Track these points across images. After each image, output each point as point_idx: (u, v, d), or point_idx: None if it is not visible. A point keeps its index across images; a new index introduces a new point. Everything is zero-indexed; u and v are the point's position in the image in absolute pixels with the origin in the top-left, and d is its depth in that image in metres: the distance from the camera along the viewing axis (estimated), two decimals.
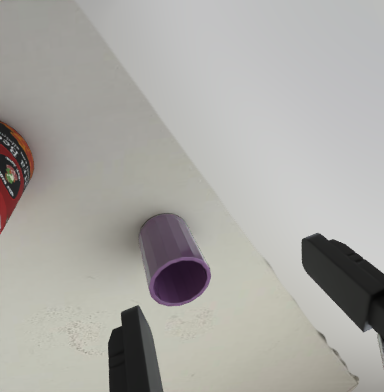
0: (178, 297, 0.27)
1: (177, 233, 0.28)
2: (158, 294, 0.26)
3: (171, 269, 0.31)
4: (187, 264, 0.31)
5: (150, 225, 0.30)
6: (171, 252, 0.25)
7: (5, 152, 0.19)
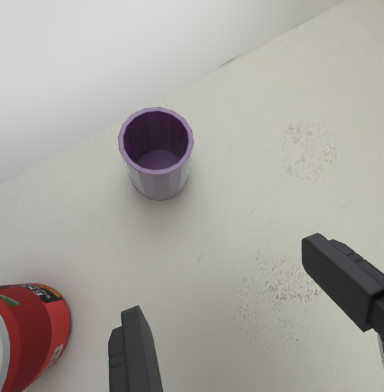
0: None
1: None
2: None
3: None
4: (177, 143, 0.27)
5: (134, 183, 0.28)
6: None
7: None
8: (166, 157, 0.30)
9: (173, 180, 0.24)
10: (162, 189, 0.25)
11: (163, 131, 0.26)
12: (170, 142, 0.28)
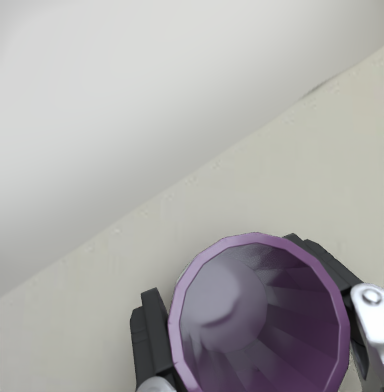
0: (327, 322, 0.10)
1: None
2: (305, 391, 0.09)
3: (282, 303, 0.14)
4: (267, 267, 0.14)
5: None
6: None
7: None
8: (233, 272, 0.16)
9: None
10: None
11: (242, 252, 0.13)
12: (247, 258, 0.15)
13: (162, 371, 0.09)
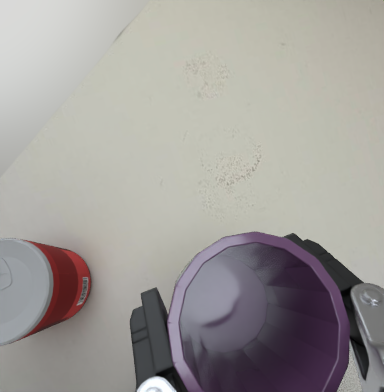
0: (327, 321, 0.10)
1: None
2: (304, 390, 0.09)
3: (282, 303, 0.14)
4: (267, 267, 0.14)
5: None
6: None
7: None
8: (232, 272, 0.16)
9: None
10: None
11: (242, 252, 0.13)
12: (247, 257, 0.15)
13: (162, 371, 0.09)
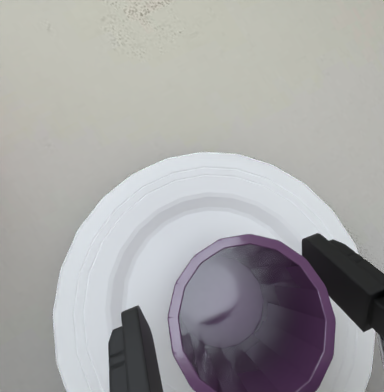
0: (315, 317, 0.10)
1: None
2: (293, 380, 0.10)
3: (276, 300, 0.14)
4: (262, 267, 0.14)
5: None
6: None
7: None
8: (230, 271, 0.17)
9: None
10: None
11: (238, 252, 0.14)
12: (243, 258, 0.15)
13: None
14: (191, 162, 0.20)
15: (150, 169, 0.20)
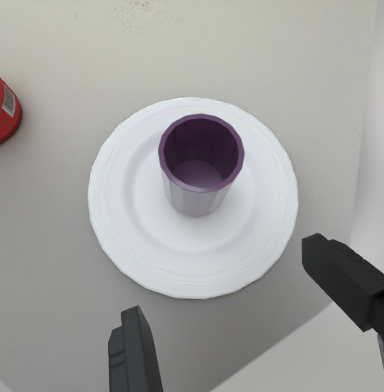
0: (236, 156, 0.20)
1: None
2: None
3: (227, 173, 0.24)
4: (218, 153, 0.24)
5: (169, 199, 0.25)
6: None
7: None
8: (202, 168, 0.26)
9: (219, 196, 0.21)
10: (204, 206, 0.22)
11: (202, 140, 0.23)
12: (208, 152, 0.25)
13: None
14: (178, 103, 0.29)
15: (150, 107, 0.29)
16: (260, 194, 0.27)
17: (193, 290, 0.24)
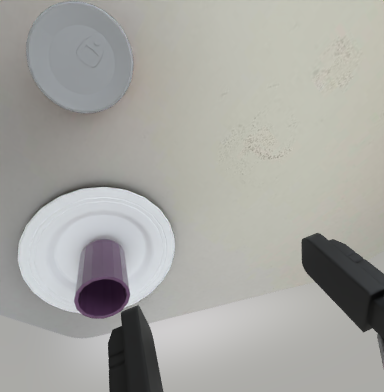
0: (111, 309, 0.33)
1: (97, 257, 0.33)
2: (91, 311, 0.32)
3: (112, 285, 0.36)
4: None
5: (82, 255, 0.35)
6: (86, 276, 0.30)
7: None
8: None
9: None
10: None
11: None
12: None
13: None
14: (161, 220, 0.38)
15: (150, 205, 0.37)
16: None
17: (33, 285, 0.36)
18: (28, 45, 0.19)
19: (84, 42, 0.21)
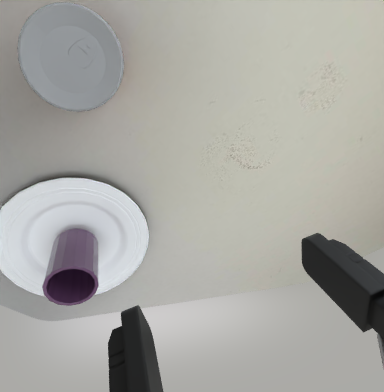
0: (79, 297, 0.34)
1: (70, 246, 0.34)
2: (58, 297, 0.33)
3: (82, 273, 0.37)
4: None
5: (55, 242, 0.36)
6: (56, 264, 0.31)
7: None
8: None
9: None
10: None
11: None
12: None
13: None
14: (138, 216, 0.40)
15: (128, 200, 0.38)
16: None
17: (3, 266, 0.37)
18: (20, 39, 0.20)
19: (76, 43, 0.21)
